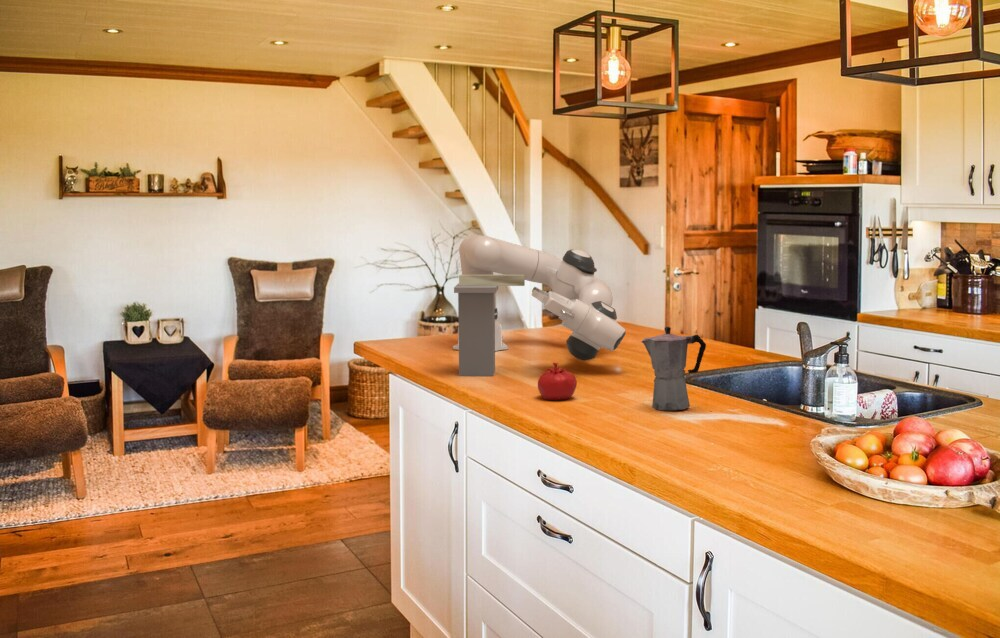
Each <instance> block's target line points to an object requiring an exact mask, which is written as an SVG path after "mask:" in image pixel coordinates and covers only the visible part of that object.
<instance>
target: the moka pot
mask: <svg viewBox="0 0 1000 638" xmlns="http://www.w3.org/2000/svg"><path fill="white" fill-rule="evenodd" d="M671 330H672V328H671V327H670V326H666V327H664V331H665V333H663V334H660V335H655V336H651V337H645V338H644V339H642V340H641V341H640V342H641V343H642V344H643V345H644V347H645V349H646V351H647V353H648V356H649V358H650V360H651V366H652V369H653V370H654V373H653V374H654V377H655V378H654V379H653V382H654V384H653V393H652V394H653V395H652V408H653V409H654V408H655V410H658V411H667V412H668V411H669V412H670V411H681V410H687V409H688V408H689V407H690V406H691V405H690V399H689V395H688V389H687V382H686V377H685V374H686V370H685V369H686V367H687V356H688V345H689V344H690V345H691V344H694V343H695V344H696V343H699V345H700V346H699V350H698V353H697V357H696V363H695V365H694V368H691V369H688V370H687V372H688V374H689V375H690V374H695V373H698V372H699V369H700V366H701V363H702V360H703V356H704V353H705V351H706V348H707V343H706V342H705V341H704V340H703V338H701V336H700V335H699V334H694V335H683V336H682V335H678V334H674V333H671Z"/></svg>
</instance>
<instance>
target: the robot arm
mask: <svg viewBox="0 0 1000 638" xmlns="http://www.w3.org/2000/svg"><path fill="white" fill-rule="evenodd" d="M458 252H459V259H460V268H461V270H460V271H461V275H494V273H495V274H498V275H525V281H527V282H532V283H537V284H543V285H546V286H548V287H549V288H550V290H546V291H545V290H542V289H540V288H538V287H537V286H534V287H533V288H532V290H531V296H532V297H533V298H534V299H537V301H539V302H540V303H542V304H543V308H544V309H545V310H547V311H549V312H551V313H552V314H553V315H555V316H557V317H558V319H560V320H561V323H560V324H561V326H562V327H564V328H566V329H568V330H570V331H572V332H571V334H570V335H569V336H568V337H567V338H566V343H565V344H566V347H567V350H568V352H569V353H570V354H571V355H572V356H573V357H574V358H576V359H578V360H579V361H584V362H585V361H589V360H593V359H595V358H596V356H597V355H598V352H599V351H600V350H601V348H602V349H605V350H608V351H611V352H613V351H616V349H618V347H619V345H620V344H621V342H622V341H623V339H624V337H625V336H626V328H624V327H623V326H622V325H621V324H619V323H618V321H617V319H618V316H617V311H616V309H615V308H613V307H612V305H613V295H612V291H611V289H610V286H608V284H607V283H606V282H605V281H603V280H602V279H599V278H597V277H596V276H595V273H596V272H598V268H596V267H595V262H594V259H593V257H592V256H591V255H590V254H589V253H587V252H586V251H584V250H581V249H574V248H573V249H568V250H567V251H566V252H565V253H564V255H563V257H562V260H561V259H560V258H558V257H556V256H554V255H553V254H550V253H547V252H545V251H541V250H538V249H534V248H531V247H527V246H524V245H519V244H516V243H512V242H509V241H505V240H502V239H498V238H495V237H492V236H488V235H480V234H472V235H471V234H470V235H468V236H466V237H465V238H464V239H463V240H462V241H461V242H460V244H459V248H458ZM498 314H499V312H498V308H497V292H496V293H495V352H498V351H504V350H508V349H509V347H508V345H507V344H506V343H505V342H504V341H503V338H504V336H503V330H502V329H503V328H502V324H501V322H499V321H498V318H499V317H498ZM457 327H458V329H457V331H458V332H457V343H456V344H454V345H453V346H452V350H456V351H457V350H458V351H459V325H458V326H457Z"/></svg>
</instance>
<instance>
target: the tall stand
mask: <svg viewBox="0 0 1000 638" xmlns="http://www.w3.org/2000/svg"><path fill="white" fill-rule="evenodd" d="M498 290H499V286H459V282H458V283H457V284H456V285H455V286H454V287H453V293H454V294H457V300H458V301H457V303H458V304H457V305H458V308H457V309H458V310H457V311H458V318H457V319H458V320H457V321H458V326H459V350H458V376H459V377H494V375H495V371H496V351H495V293H496V294H497V291H498Z"/></svg>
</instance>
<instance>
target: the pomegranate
mask: <svg viewBox="0 0 1000 638" xmlns="http://www.w3.org/2000/svg"><path fill="white" fill-rule="evenodd" d="M552 364H553V367H554V368H552V367H549V368H546V369H544V371H545V372H542V374H541V375H540V376H539V378H538V381H537V389H538V393H539V394H540V396H541V397H542V398H543V399H545V400H547V401H560V400H561V401H562V400H569V399H570V398H572V396H573V395H574V393H575V392H576V390H577V384H578V379H576V376H575V375H574V374H573V373H572V372H571V369H568V368H563V367H562V366H561V367H559V368H558V362H553V363H552ZM567 370H568V371H567Z"/></svg>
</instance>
